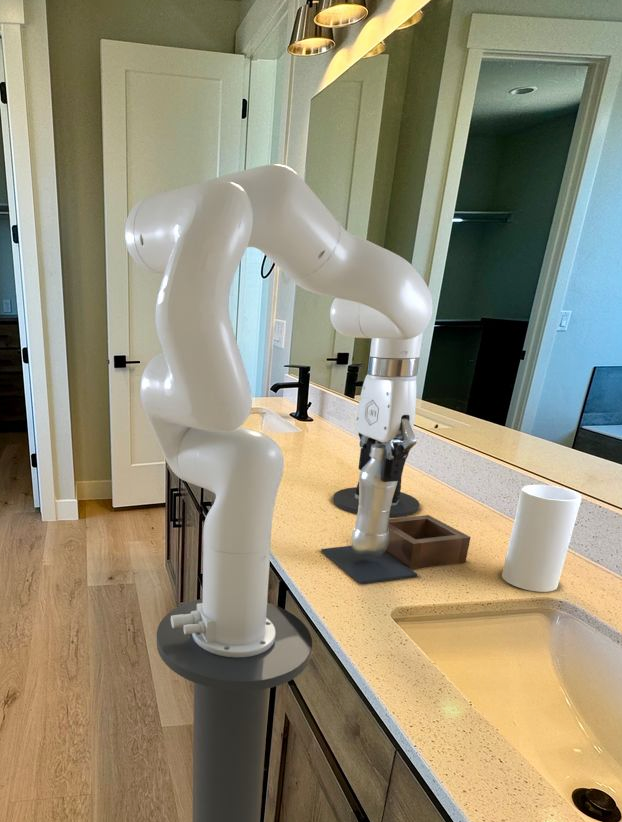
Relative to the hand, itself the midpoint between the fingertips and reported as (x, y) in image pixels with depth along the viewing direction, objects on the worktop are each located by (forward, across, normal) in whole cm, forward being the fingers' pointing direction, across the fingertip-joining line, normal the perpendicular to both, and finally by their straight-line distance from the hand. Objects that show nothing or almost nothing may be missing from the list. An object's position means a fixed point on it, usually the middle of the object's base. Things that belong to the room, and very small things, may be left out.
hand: (378, 474), depth 99 cm
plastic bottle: (+15, 0, 0) cm, 15 cm away
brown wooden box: (+17, -2, +12) cm, 21 cm away
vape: (+17, -29, +20) cm, 39 cm away
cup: (+17, +13, +23) cm, 32 cm away
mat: (+17, 0, 0) cm, 17 cm away
